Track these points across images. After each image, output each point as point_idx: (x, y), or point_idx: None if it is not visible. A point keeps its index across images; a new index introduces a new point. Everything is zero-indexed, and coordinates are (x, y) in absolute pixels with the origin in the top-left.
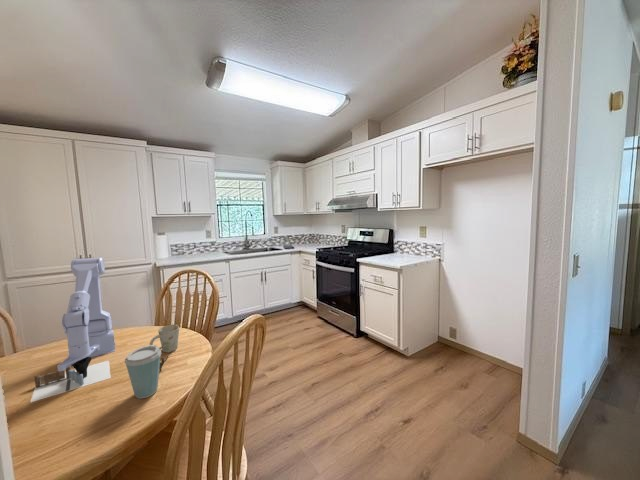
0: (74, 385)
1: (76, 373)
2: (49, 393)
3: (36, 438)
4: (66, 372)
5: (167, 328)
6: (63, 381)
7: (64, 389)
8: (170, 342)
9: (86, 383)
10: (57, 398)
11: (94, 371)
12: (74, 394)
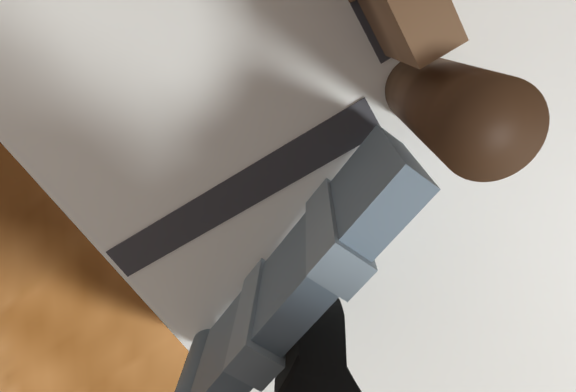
0: (217, 269)
1: (237, 376)
2: (56, 92)
3: None
4: (416, 94)
5: None
6: (329, 69)
7: (140, 216)
8: None
9: None
10: (9, 236)
11: (500, 310)
12: (83, 344)
